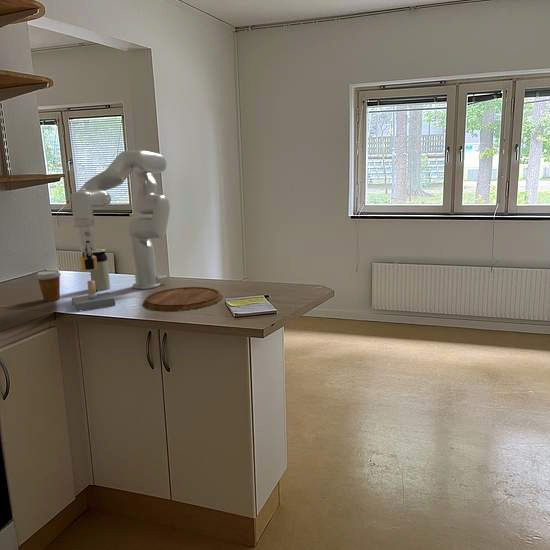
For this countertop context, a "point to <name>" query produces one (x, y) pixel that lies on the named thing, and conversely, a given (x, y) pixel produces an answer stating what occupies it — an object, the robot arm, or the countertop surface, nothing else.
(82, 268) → the tan cardboard carton
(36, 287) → the countertop surface
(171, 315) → the countertop surface
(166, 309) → the cutting board
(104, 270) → the travel mug
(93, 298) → the block
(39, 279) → the disposable coffee cup
